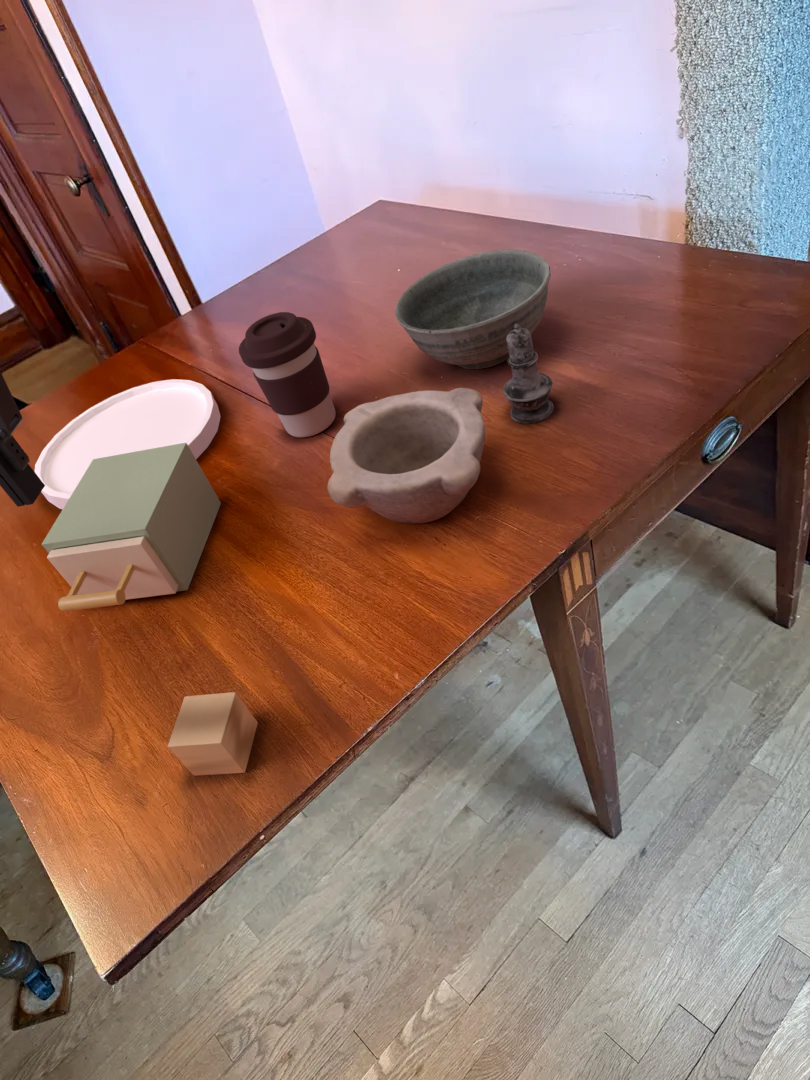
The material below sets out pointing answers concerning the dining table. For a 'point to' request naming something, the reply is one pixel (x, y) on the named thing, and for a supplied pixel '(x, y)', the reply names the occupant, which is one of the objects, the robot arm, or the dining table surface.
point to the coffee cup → (290, 372)
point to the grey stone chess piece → (526, 380)
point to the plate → (128, 431)
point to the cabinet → (143, 507)
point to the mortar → (409, 454)
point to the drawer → (111, 573)
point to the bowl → (475, 306)
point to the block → (213, 734)
